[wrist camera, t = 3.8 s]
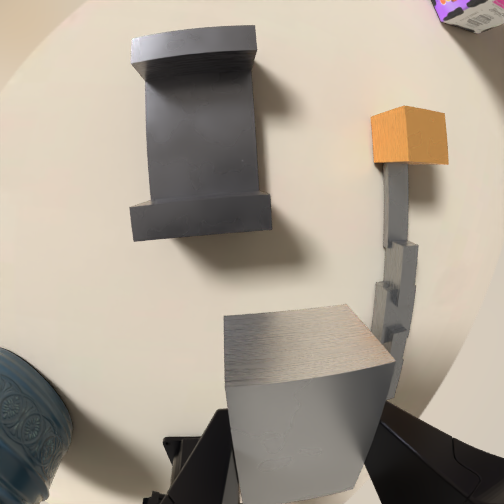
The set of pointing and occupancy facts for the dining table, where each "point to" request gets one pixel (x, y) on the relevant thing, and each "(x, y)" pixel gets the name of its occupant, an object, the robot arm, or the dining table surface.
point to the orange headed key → (401, 217)
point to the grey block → (302, 400)
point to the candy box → (471, 13)
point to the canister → (29, 432)
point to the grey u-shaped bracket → (199, 134)
